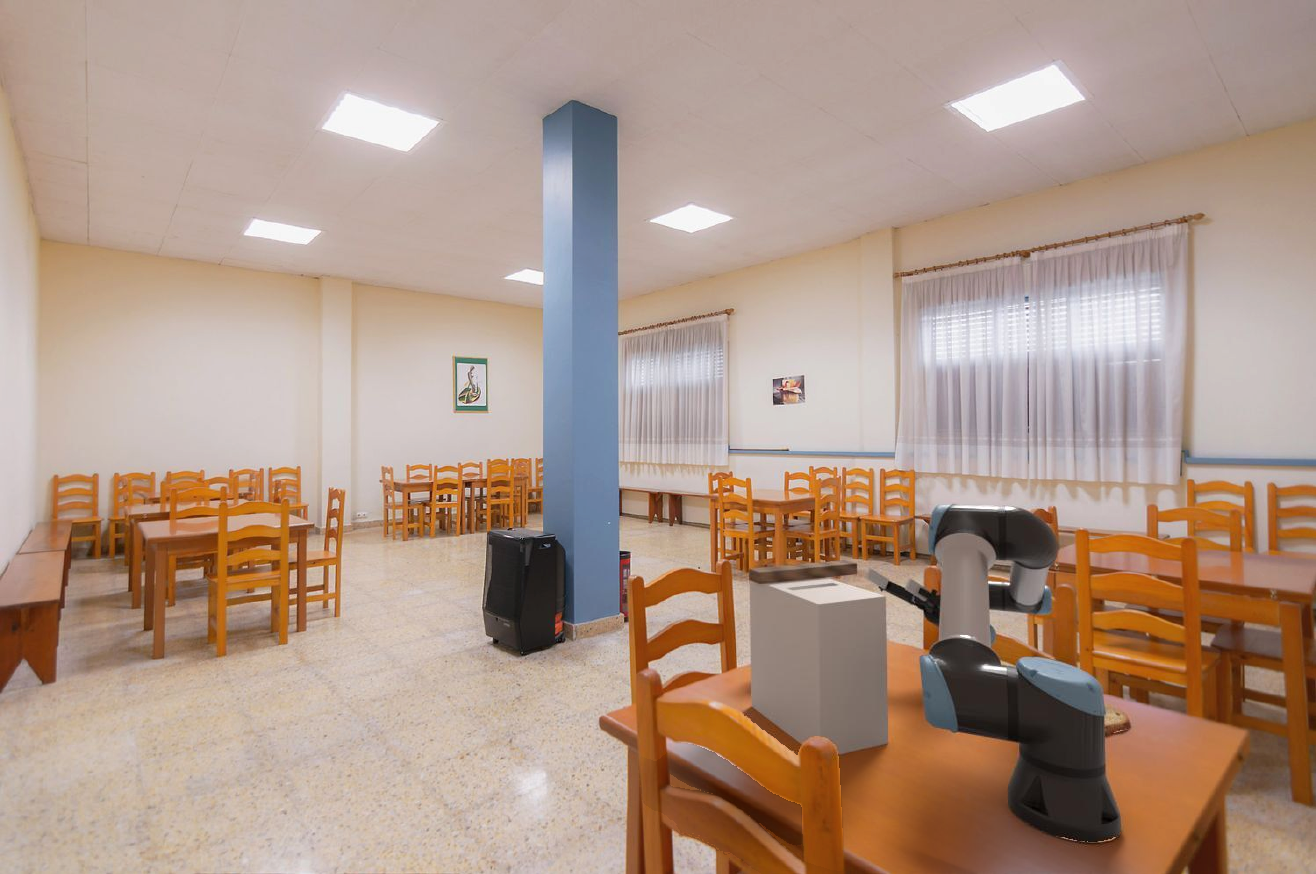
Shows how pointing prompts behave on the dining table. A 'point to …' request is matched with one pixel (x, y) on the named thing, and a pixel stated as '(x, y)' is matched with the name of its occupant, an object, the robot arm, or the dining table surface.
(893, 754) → the dining table surface
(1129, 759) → the dining table surface
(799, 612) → the tall box
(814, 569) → the cover slat
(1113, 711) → the slice of bread
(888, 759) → the dining table surface
